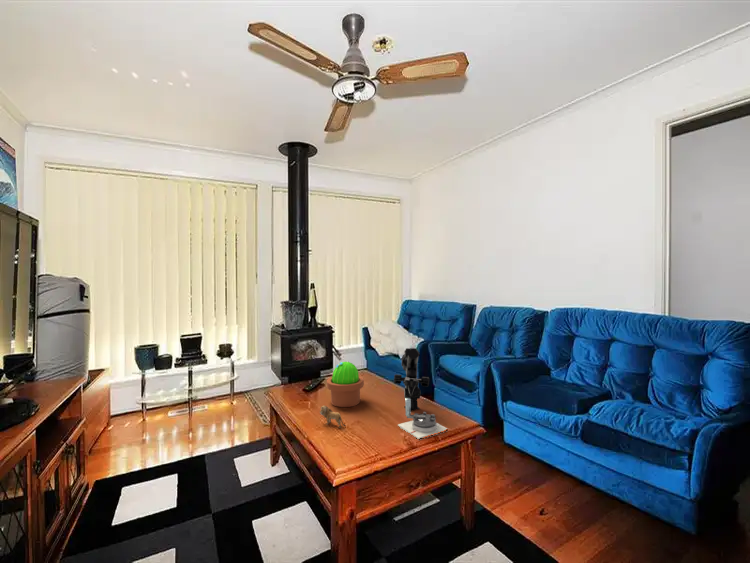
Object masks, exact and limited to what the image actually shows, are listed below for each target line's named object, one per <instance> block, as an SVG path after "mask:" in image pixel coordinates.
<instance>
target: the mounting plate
mask: <svg viewBox="0 0 750 563" xmlns="http://www.w3.org/2000/svg"><path fill="white" fill-rule="evenodd" d="M398 426H399V427H400V428H399V427H398ZM397 427H398V428H399V429H401V430H402V429H403V430H402V431H404V430H405V431H406V432H405V431H404V432H405V433H407V432H408V433H410V434H411V435H413V436H414V437H416V438H417V439H420V438H423V437H425V436H428V435H431V434H434V433H438V432H441V431H444V430H446V429H448V428H447V427H445V426H443V425H442V424H440V423H439V422H436V425H435V426H433V427H431V428H421V427H417V426H415V425H414V424H413V419H412V420H410V421H409V420H408V421H406V422H402V423H398V424H397ZM408 433H407V434H408ZM410 434H409V435H410ZM411 435H410V436H411ZM413 436H412V437H413ZM414 437H413V438H414ZM416 438H415V439H416ZM417 439H416V440H417ZM420 440H421V439H420Z"/></svg>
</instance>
